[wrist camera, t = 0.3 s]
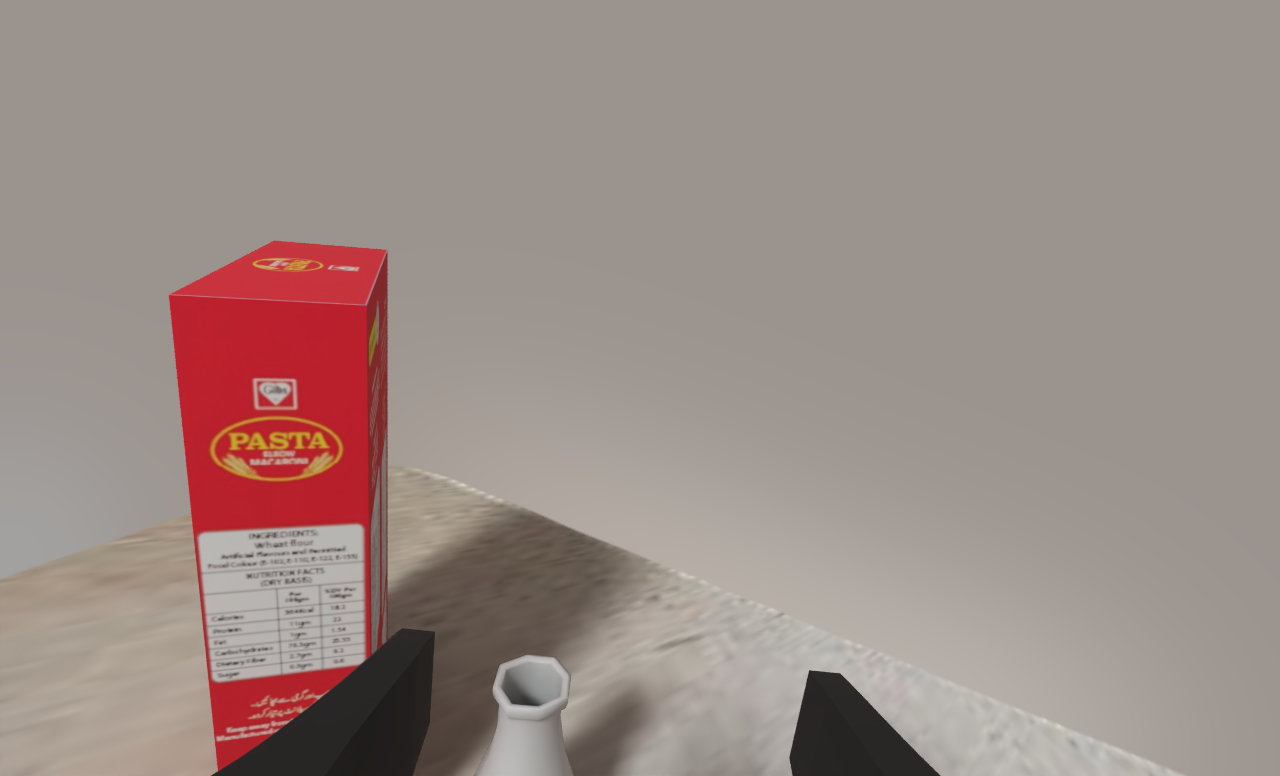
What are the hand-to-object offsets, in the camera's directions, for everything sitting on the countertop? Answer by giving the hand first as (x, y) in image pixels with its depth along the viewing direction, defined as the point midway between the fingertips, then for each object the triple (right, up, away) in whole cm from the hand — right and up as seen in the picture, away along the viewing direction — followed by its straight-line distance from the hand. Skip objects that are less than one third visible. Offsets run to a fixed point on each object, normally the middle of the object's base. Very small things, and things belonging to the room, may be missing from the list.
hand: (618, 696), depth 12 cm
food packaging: (-16, -13, +21) cm, 30 cm away
